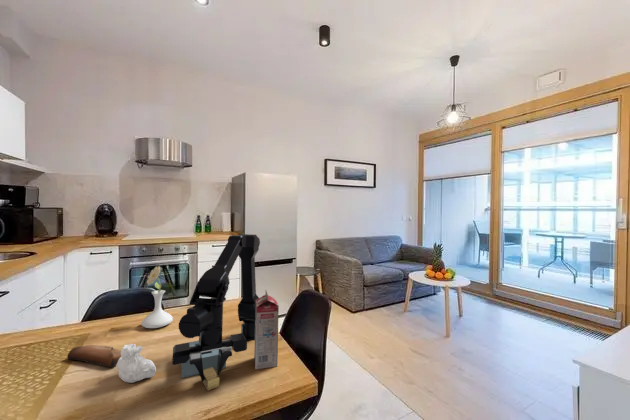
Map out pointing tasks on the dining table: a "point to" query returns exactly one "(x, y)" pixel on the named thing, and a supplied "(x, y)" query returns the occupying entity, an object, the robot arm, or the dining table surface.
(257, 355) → the juice carton
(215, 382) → the tan wooden post
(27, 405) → the dining table surface
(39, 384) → the dining table surface
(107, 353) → the sunglasses case
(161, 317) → the flower in vase
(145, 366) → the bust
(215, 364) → the blue-grey hollow frame
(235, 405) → the dining table surface
